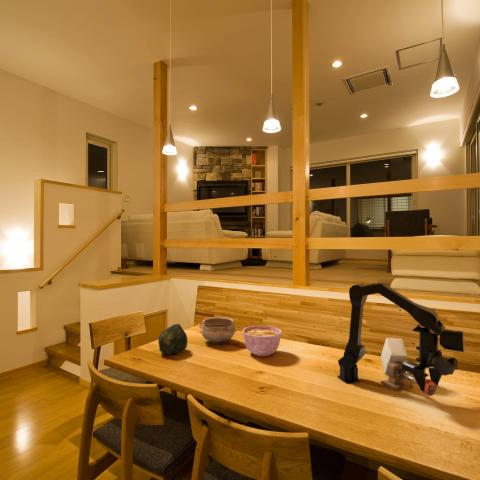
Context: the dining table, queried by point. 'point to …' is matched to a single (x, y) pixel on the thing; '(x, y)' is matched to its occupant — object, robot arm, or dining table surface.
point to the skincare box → (393, 352)
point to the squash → (172, 340)
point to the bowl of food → (262, 339)
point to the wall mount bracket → (395, 377)
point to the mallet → (429, 384)
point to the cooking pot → (218, 329)
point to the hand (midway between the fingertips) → (428, 389)
